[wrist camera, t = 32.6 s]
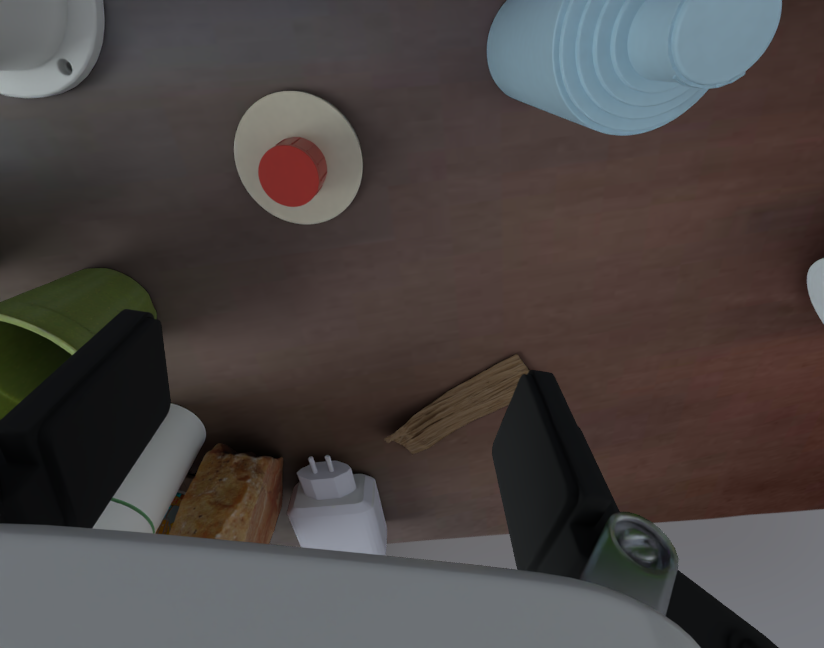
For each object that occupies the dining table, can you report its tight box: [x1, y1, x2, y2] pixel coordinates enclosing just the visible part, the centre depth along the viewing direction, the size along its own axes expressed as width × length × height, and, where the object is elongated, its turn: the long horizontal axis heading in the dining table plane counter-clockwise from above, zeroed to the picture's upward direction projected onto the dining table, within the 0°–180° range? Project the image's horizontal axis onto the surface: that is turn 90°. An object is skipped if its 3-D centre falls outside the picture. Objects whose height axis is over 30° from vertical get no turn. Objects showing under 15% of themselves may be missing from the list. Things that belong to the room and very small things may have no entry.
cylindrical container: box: [93, 403, 206, 534], centre depth 34 cm, size 7×7×25 cm
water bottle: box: [487, 0, 782, 135], centre depth 19 cm, size 6×6×20 cm
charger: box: [287, 455, 387, 555], centre depth 48 cm, size 5×9×15 cm
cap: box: [258, 137, 327, 207], centre depth 30 cm, size 4×4×3 cm
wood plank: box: [384, 354, 529, 454], centre depth 43 cm, size 15×2×5 cm
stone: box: [169, 443, 283, 544], centre depth 41 cm, size 14×9×15 cm, turn 156°
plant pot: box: [0, 268, 157, 420], centre depth 33 cm, size 12×12×11 cm
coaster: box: [234, 90, 363, 224], centre depth 31 cm, size 9×9×1 cm
